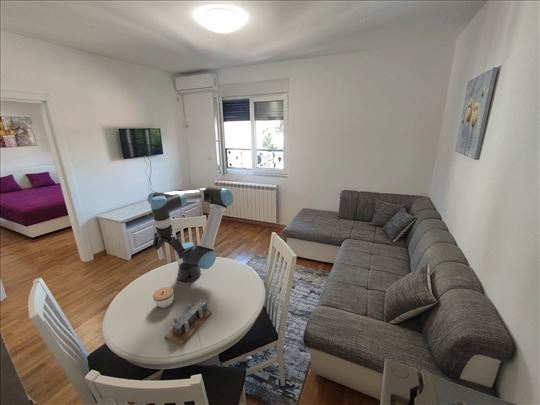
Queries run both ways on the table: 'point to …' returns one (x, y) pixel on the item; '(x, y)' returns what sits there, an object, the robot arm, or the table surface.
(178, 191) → the robot arm
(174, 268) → the table surface
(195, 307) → the grey notched bar
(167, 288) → the lidded jar
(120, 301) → the table surface
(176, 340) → the rack
